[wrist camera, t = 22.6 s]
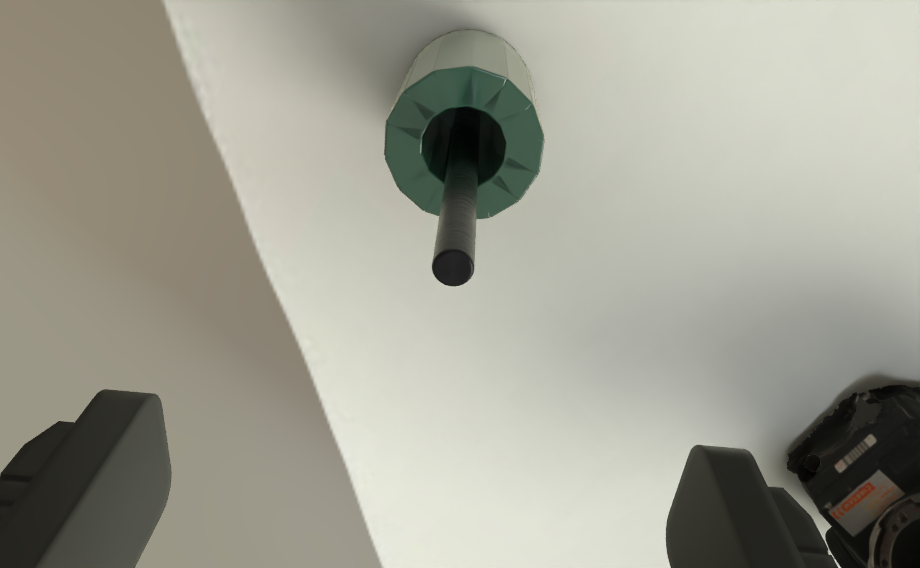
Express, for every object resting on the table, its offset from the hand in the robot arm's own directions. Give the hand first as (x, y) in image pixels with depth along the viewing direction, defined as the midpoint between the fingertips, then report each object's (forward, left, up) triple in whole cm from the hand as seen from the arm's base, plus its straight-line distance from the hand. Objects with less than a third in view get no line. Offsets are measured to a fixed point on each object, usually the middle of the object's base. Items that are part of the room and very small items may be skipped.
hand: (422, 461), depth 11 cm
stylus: (0, 0, -22) cm, 22 cm away
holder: (0, 0, -22) cm, 22 cm away
